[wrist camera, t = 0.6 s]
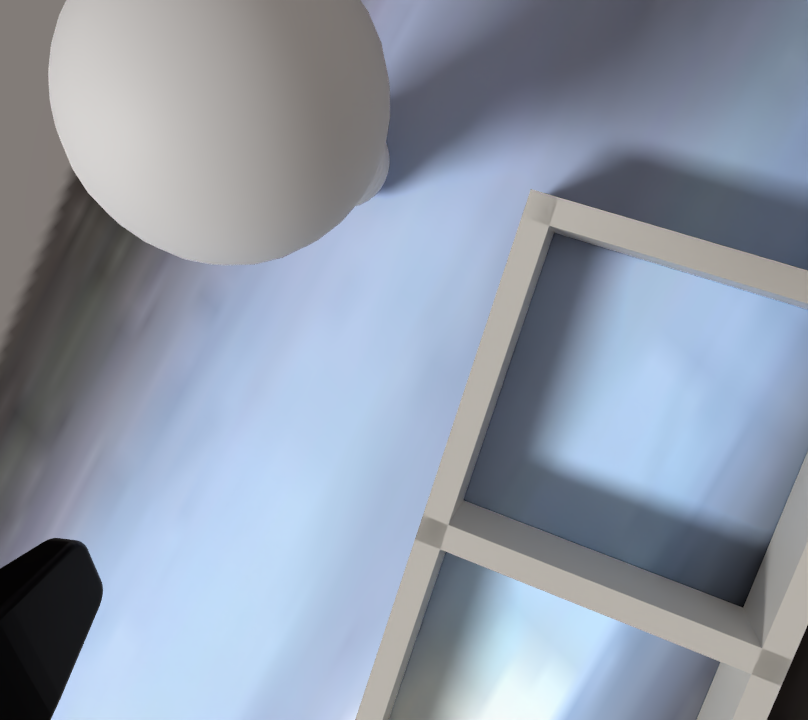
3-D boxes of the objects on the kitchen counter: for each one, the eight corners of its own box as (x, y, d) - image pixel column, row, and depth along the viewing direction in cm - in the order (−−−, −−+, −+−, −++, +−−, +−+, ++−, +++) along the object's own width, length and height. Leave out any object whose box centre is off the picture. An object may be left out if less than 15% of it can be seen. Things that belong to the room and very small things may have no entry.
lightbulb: (217, 160, 23) (-105, 49, 12) (365, 10, 21) (144, -263, 11) (344, 316, 22) (121, 341, 12) (504, 173, 21) (415, 55, 10)
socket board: (760, 962, 21) (781, 1045, 19) (348, 767, 24) (322, 819, 21) (1040, 349, 18) (1105, 357, 16) (538, 200, 21) (530, 188, 19)
